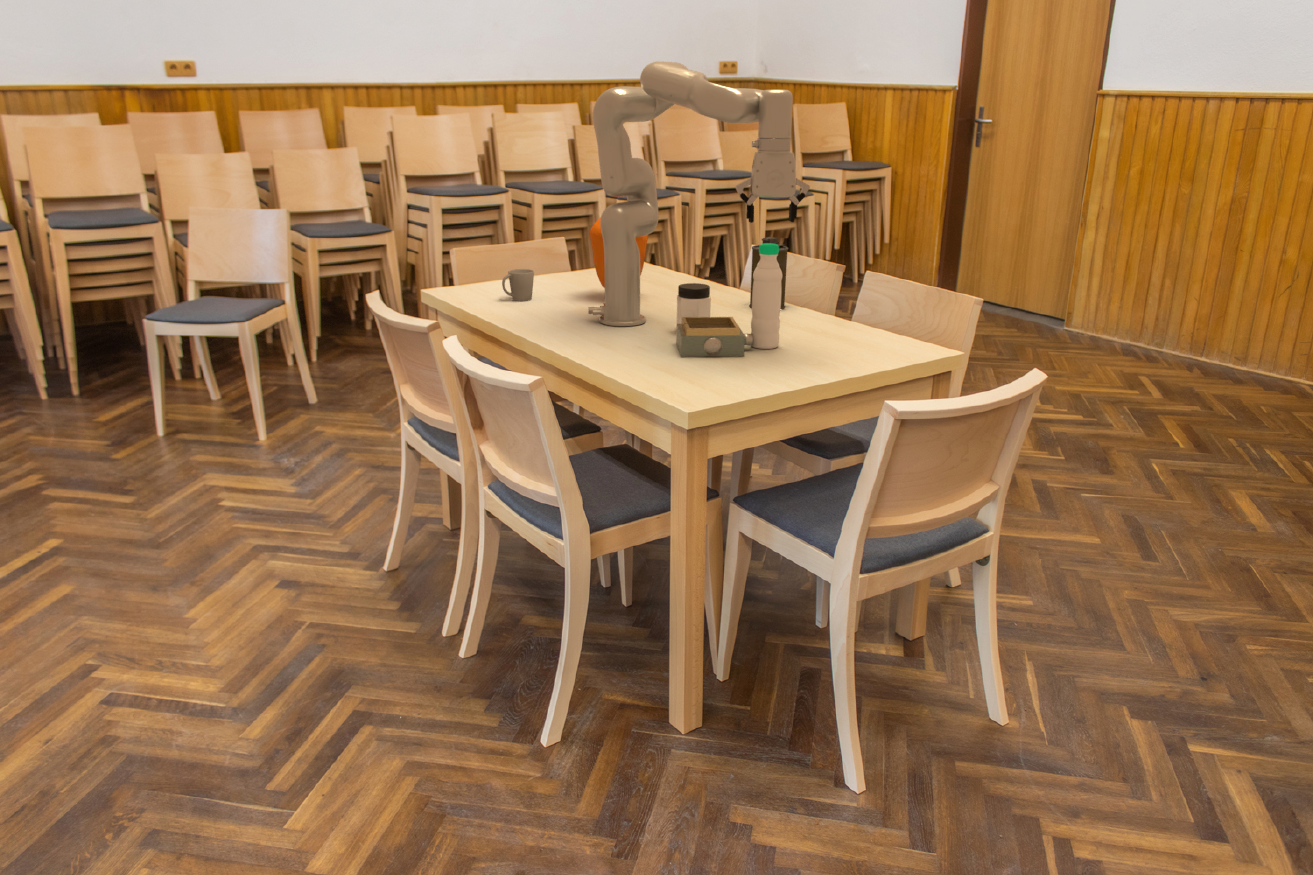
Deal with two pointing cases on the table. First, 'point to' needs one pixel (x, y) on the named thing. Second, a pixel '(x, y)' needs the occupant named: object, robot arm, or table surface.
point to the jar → (693, 301)
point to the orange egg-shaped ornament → (599, 250)
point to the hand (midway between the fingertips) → (771, 221)
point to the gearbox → (711, 337)
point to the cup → (520, 284)
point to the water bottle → (766, 298)
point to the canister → (780, 259)
